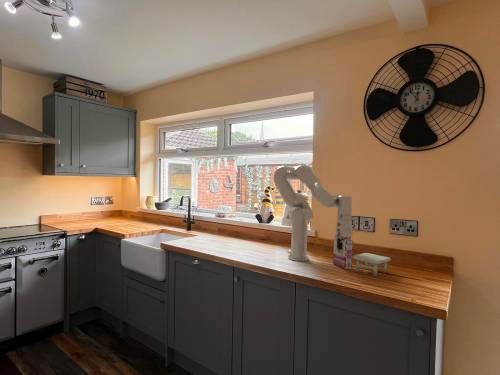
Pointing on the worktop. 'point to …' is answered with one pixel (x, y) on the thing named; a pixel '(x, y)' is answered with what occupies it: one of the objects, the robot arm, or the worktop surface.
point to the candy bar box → (343, 254)
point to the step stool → (371, 262)
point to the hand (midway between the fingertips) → (343, 248)
